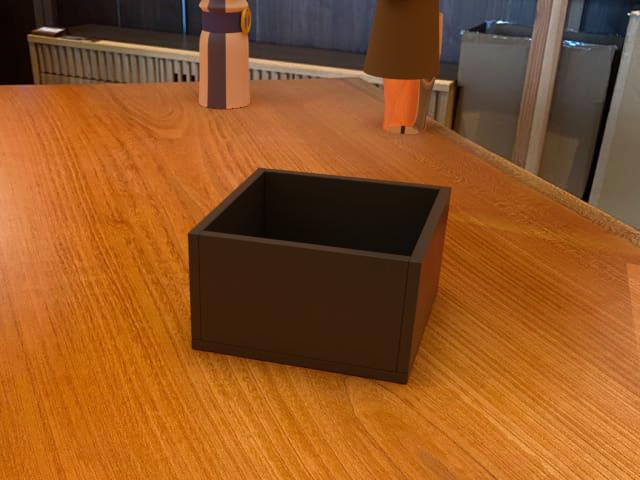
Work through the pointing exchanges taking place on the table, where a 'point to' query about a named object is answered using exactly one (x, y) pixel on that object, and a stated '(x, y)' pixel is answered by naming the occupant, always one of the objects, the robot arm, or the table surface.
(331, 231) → the bin
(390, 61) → the cork
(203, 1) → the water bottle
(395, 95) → the beer glass
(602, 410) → the table surface
